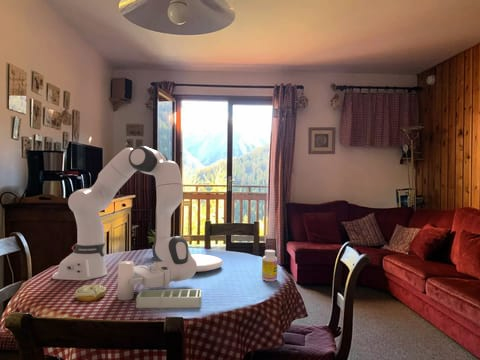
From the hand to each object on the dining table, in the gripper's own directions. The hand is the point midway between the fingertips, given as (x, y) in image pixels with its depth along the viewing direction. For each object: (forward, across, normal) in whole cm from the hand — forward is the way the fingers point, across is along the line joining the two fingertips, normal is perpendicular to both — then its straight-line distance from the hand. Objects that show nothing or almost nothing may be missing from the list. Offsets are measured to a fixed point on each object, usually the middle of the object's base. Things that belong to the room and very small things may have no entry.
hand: (124, 279), depth 136 cm
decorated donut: (+9, -8, +8) cm, 15 cm away
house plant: (-41, -56, +7) cm, 70 cm away
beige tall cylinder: (-1, 0, +7) cm, 7 cm away
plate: (-44, -22, +7) cm, 50 cm away
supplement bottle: (-60, +14, +7) cm, 62 cm away
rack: (-11, +15, +7) cm, 20 cm away
